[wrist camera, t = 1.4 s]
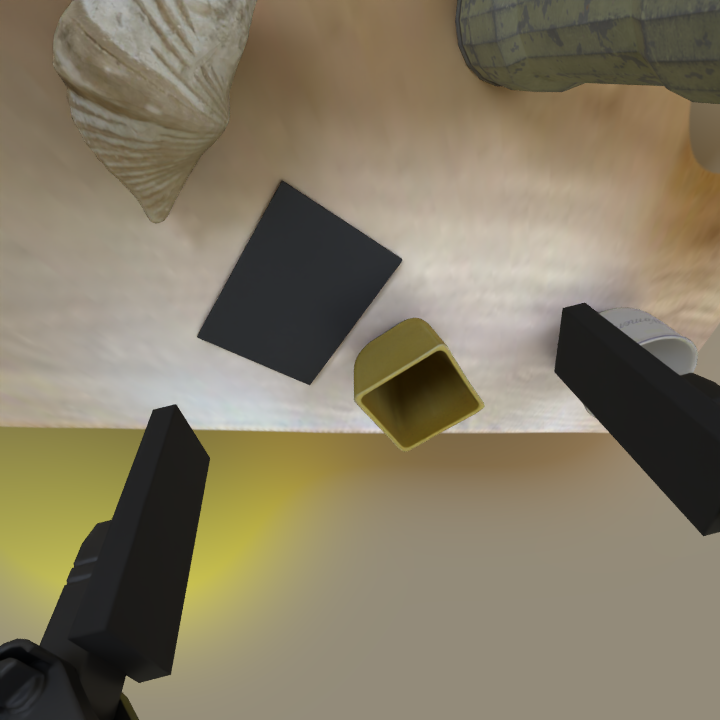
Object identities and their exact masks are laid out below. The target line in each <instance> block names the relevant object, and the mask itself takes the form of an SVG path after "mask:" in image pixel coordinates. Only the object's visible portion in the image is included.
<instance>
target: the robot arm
mask: <svg viewBox="0 0 720 720" xmlns="http://www.w3.org/2000/svg"><path fill="white" fill-rule="evenodd" d="M554 372H555V373H556V374H557V375H558V376H559V377H560V379H561V380H562V381H563V382H564V383H565V384H566V385H567V386H568V387H569V388H570V390H571V391H572V392H573V393H574V394H575V395H576V396H577V397H578V398H579V400H580V401H581V402H582V403H583V404H584V405H585V406H586V407H587V408H588V409H589V411H590V412H591V413H592V414H593V415H594V416H595V417H596V418H597V419H598V420H599V422H600V423H601V424H602V425H603V426H604V427H605V428H606V429H607V430H608V431H609V433H610V434H611V435H612V436H613V437H614V438H615V439H616V440H617V441H618V442H619V444H620V445H621V446H622V447H623V448H624V449H625V450H626V451H627V452H628V454H629V455H631V457H632V458H633V459H634V460H635V461H636V462H637V463H638V465H640V467H641V468H642V469H643V470H644V471H645V472H646V473H647V474H648V476H649V477H650V478H651V479H652V480H653V481H654V482H655V483H656V484H657V486H659V488H660V489H661V490H662V491H663V492H664V493H665V494H666V495H667V497H668V498H669V499H670V500H671V501H672V502H673V503H674V504H675V505H676V506H677V508H678V509H679V510H680V511H681V512H682V513H683V514H684V515H685V516H686V517H687V519H688V520H689V521H690V522H691V523H692V524H693V525H694V526H695V527H696V528H697V530H698V531H699V532H700V533H701V534H702V535H703V536H706V535H710V534H713V533H717V532H720V386H719V385H717V384H716V383H715V382H713V381H711V380H708V379H706V378H703V377H701V376H699V375H696V374H694V373H692V372H691V373H687V374H683V375H679V374H677V373H676V372H675V371H673V370H672V369H671V368H670V367H668V366H667V365H666V364H664V363H663V362H662V361H660V360H659V359H658V358H656V357H655V356H654V355H653V354H651V353H650V352H649V351H647V350H646V349H645V348H643V347H642V346H641V345H640V344H638V343H637V342H636V341H634V340H633V339H632V338H630V337H629V336H628V335H626V334H625V333H624V332H623V331H621V330H620V329H619V328H617V327H616V326H615V325H613V324H612V323H611V322H609V321H608V320H607V319H606V318H604V317H603V316H602V315H600V314H599V313H598V312H596V311H595V310H594V309H592V308H591V307H590V306H589V305H587V304H586V303H582V304H578V305H574V306H570V307H565V308H563V310H562V317H561V325H560V333H559V340H558V348H557V355H556V363H555V370H554ZM209 461H210V457H209V456H208V454H207V453H206V451H205V449H204V448H203V446H202V445H201V443H200V441H199V440H198V438H197V437H196V435H195V434H194V432H193V430H192V429H191V427H190V425H189V424H188V422H187V421H186V419H185V418H184V416H183V414H182V413H181V411H180V410H179V408H178V406H177V405H176V404H175V405H171V406H166V407H162V408H158V409H154V410H153V411H152V414H151V417H150V419H149V422H148V425H147V427H146V430H145V433H144V436H143V438H142V441H141V443H140V446H139V449H138V452H137V454H136V457H135V459H134V462H133V465H132V467H131V470H130V473H129V476H128V478H127V481H126V483H125V486H124V489H123V491H122V494H121V497H120V499H119V502H118V505H117V507H116V510H115V513H114V515H113V518H112V520H110V521H105V522H102V523H98V524H96V526H95V527H94V529H93V530H92V531H91V532H90V534H89V535H88V536H87V538H86V539H85V540H84V542H83V543H82V545H81V547H80V550H79V552H78V555H77V557H76V559H75V562H74V568H72V569H71V571H70V574H69V576H68V579H67V585H65V586H64V588H63V590H62V593H61V595H60V598H59V600H58V602H57V605H56V607H55V610H54V612H53V614H52V617H51V619H50V622H49V624H48V626H47V629H46V631H45V634H44V636H43V638H42V641H41V643H40V645H37V644H35V643H33V642H31V641H30V640H27V639H15V640H12V641H10V642H7V643H4V644H3V645H1V646H0V720H139V719H138V717H137V715H136V713H135V711H134V710H133V707H132V705H131V703H130V701H129V699H128V698H127V697H126V696H125V695H124V694H123V693H122V689H123V685H124V681H125V677H126V675H127V676H128V677H130V678H132V679H133V680H135V681H137V682H138V683H141V682H144V681H148V680H152V679H156V678H160V677H163V676H167V675H171V671H172V665H173V659H174V654H175V649H176V643H177V637H178V632H179V626H180V621H181V615H182V610H183V604H184V599H185V593H186V588H187V582H188V577H189V571H190V565H191V560H192V555H193V549H194V544H195V538H196V532H197V527H198V522H199V516H200V511H201V505H202V500H203V494H204V489H205V482H206V477H207V472H208V466H209Z"/></svg>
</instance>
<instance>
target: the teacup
mask: <svg viewBox="0 0 720 720" xmlns="http://www.w3.org/2000/svg"><path fill="white" fill-rule="evenodd" d="M599 314H600V315H602V316H603V317H604V318H606V319H607V320H608V321H609V322H611V323H612V324H613V325H615V326H616V327H617V328H619V329H620V330H621V331H623V332H624V333H625V334H626V335H628V336H629V337H630V338H632V339H633V340H634V341H636V342H637V343H638V344H640V345H641V346H642V347H643V348H645V349H646V350H647V351H649V352H650V353H651V354H653V355H654V356H655V357H656V358H658V359H659V360H660V361H662V362H663V363H664V364H666V365H667V366H668V367H670V368H671V369H672V370H673V371H675V372H676V373H677V374H679V375H683V374H687V373H691V372H692V373H693V371H694V369H695V367H696V364H697V360H698V352H697V348H696V346H695V345H694V343H693V342H692V341H690V340H689V339H688V338H686V337H683V336H681V335H680V334H678V333H677V332H676V331H674V330H673V329H672V328H670V327H669V326H668V325H666V324H665V323H663V322H662V321H660V320H659V319H657V318H656V317H654V316H652V315H651V314H649V313H647V312H645V311H642V310H639V309H635V308H615V309H610V310H607V311H603V312H601V313H599ZM584 406H585V405H584ZM585 408H586V410H587V412H588V413H589V414H591V415H592V416H593V417H595V416H594V415H593V414H592V413H591V412H590V411H589V409H588V408H587V407H586V406H585ZM595 418H596V417H595Z"/></svg>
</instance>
